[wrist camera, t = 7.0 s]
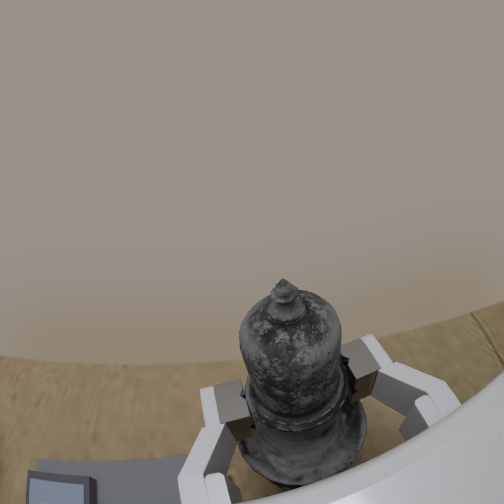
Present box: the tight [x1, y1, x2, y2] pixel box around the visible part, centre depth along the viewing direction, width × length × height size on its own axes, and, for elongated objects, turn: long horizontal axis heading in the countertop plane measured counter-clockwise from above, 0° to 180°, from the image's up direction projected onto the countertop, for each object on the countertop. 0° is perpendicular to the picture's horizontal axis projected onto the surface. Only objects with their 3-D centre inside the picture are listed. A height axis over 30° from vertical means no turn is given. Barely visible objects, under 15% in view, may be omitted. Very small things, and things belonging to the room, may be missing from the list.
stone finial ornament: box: [237, 279, 367, 490], centre depth 10 cm, size 6×6×12 cm
